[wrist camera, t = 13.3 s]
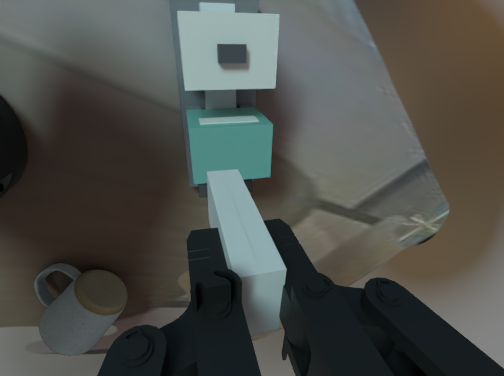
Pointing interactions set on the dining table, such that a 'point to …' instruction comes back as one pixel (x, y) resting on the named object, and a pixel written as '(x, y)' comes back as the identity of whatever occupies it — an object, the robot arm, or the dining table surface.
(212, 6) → the board
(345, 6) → the dining table surface
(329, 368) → the robot arm
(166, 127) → the dining table surface
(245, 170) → the block
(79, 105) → the dining table surface
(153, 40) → the dining table surface
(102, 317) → the ceramic mug
